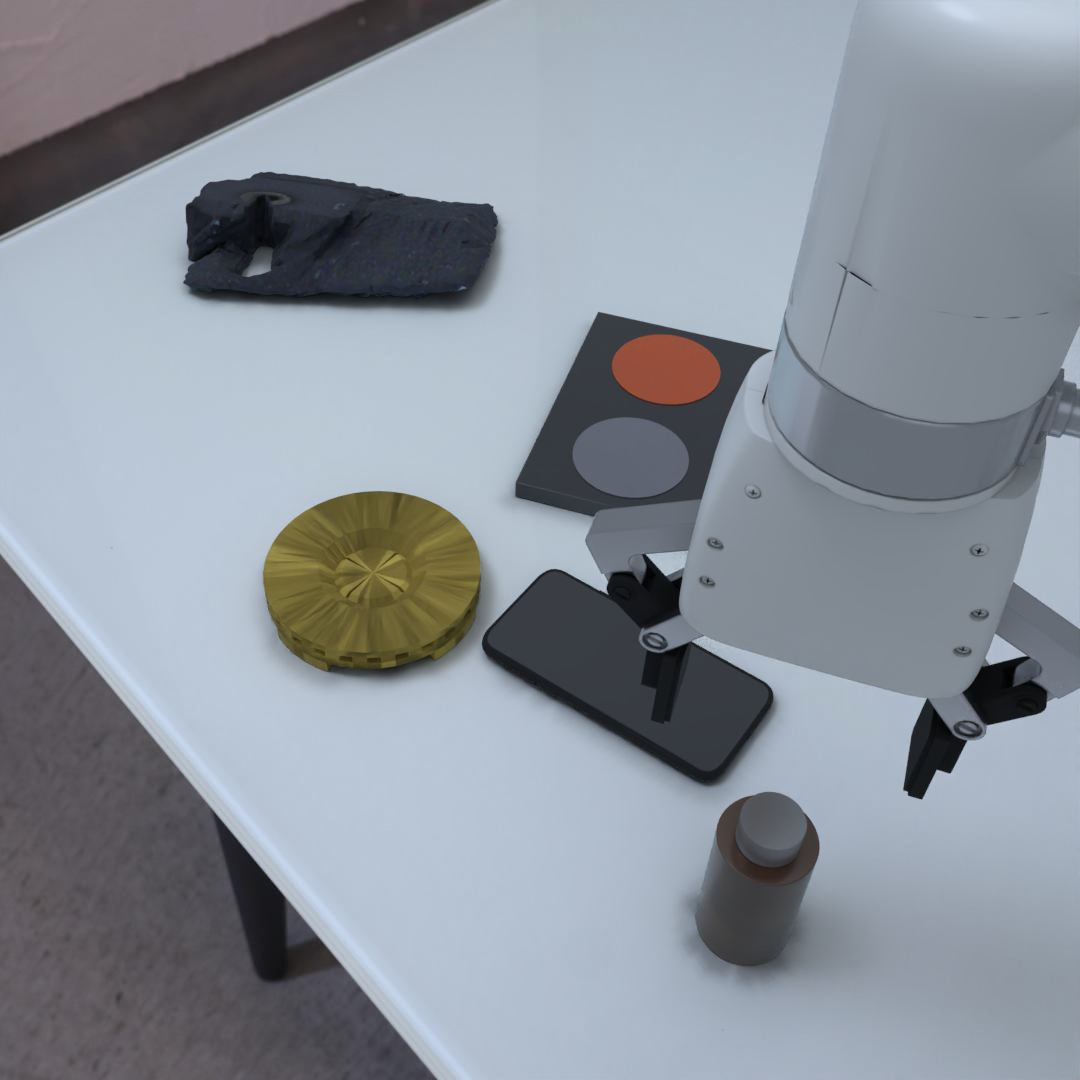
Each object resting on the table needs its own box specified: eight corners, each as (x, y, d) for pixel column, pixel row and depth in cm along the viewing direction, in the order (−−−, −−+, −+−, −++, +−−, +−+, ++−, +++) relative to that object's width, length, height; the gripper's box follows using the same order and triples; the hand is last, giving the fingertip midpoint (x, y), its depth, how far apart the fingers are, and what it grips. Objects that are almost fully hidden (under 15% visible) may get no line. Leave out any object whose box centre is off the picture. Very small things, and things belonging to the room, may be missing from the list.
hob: (942, 402, 87) (947, 387, 86) (909, 595, 75) (915, 580, 74) (597, 325, 92) (598, 310, 91) (514, 496, 80) (515, 481, 79)
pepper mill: (797, 894, 62) (834, 791, 56) (780, 978, 59) (817, 880, 53) (707, 867, 63) (733, 763, 57) (685, 949, 60) (710, 849, 54)
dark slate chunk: (472, 332, 91) (472, 275, 87) (166, 296, 93) (153, 238, 89) (508, 210, 101) (509, 155, 98) (232, 180, 103) (223, 124, 99)
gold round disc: (493, 665, 71) (493, 640, 69) (269, 688, 70) (264, 663, 68) (467, 508, 79) (467, 482, 78) (266, 526, 78) (261, 500, 76)
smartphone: (714, 784, 65) (472, 641, 71) (711, 794, 66) (472, 652, 71) (782, 688, 70) (550, 560, 75) (779, 698, 70) (549, 571, 76)
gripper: (1213, 378, 38) (1026, 717, 51) (645, 250, 42) (600, 599, 54) (1222, 555, 34) (1012, 883, 46) (577, 394, 37) (545, 742, 49)
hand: (790, 729), depth 50 cm, fingers open, 9 cm apart
